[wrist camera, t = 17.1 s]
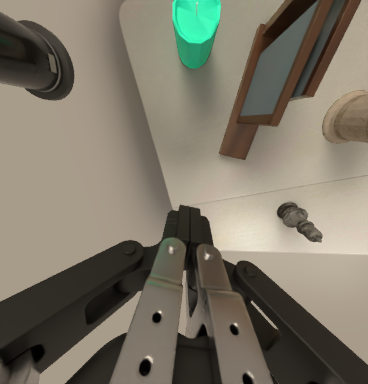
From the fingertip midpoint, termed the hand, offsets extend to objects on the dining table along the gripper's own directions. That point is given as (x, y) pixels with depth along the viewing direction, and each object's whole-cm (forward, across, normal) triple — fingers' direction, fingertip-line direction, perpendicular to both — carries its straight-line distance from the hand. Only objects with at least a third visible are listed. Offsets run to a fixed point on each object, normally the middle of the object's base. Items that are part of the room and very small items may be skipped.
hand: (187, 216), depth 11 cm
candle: (+27, -3, +18) cm, 33 cm away
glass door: (+25, +9, +14) cm, 30 cm away
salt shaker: (+27, +30, -10) cm, 42 cm away
